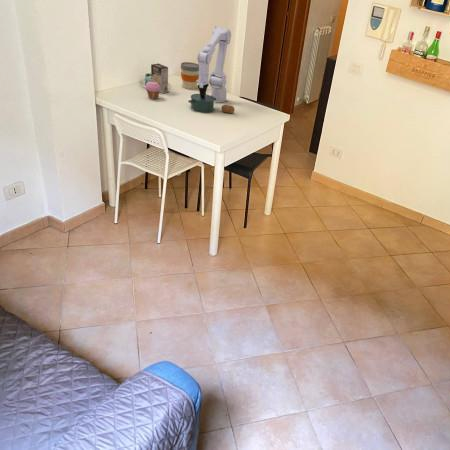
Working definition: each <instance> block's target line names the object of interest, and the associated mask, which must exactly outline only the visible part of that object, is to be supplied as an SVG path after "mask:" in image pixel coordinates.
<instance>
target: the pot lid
mask: <svg viewBox="0 0 450 450" xmlns="http://www.w3.org/2000/svg"><path fill="white" fill-rule="evenodd" d="M191 98H192V99H193V100H196V101H200V102H212V101H214V100H215V98H214V97H213V96H211V94H207V93H206V95H205V96H204V98H202V97H200V93H193V94H191V95H190V99H191Z"/></svg>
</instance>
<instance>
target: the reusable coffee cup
mask: <svg viewBox="0 0 450 450" xmlns="http://www.w3.org/2000/svg"><path fill="white" fill-rule="evenodd" d="M180 75H181V77H180V78H181V81H182V87H183V88H184V89H187V90H196V89H198V82H196V80H199V65H198V63H195V62H190V61H189V62H188V61H184V62H181V63H180Z"/></svg>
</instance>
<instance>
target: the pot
mask: <svg viewBox="0 0 450 450" xmlns="http://www.w3.org/2000/svg"><path fill="white" fill-rule="evenodd" d="M215 100H216V98H215ZM187 102H188V103H189V104H190V107H191V110H192V111H195V112H198V113H213V111H214V109H215V108H214V106H215V102H214V101H212V102H200V101H196V100H193V99H192V98H191V97H190V99H189V100H188V101H187Z"/></svg>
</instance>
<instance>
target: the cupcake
mask: <svg viewBox="0 0 450 450" xmlns="http://www.w3.org/2000/svg"><path fill="white" fill-rule="evenodd" d="M145 90H146V92H147V96H148V98H149V99H151V100H155V99H159V97H160V93H159V91H160V90H161V87H160V85H159V84H158V83H157V82H151V81H147V82H146V83H145Z"/></svg>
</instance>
